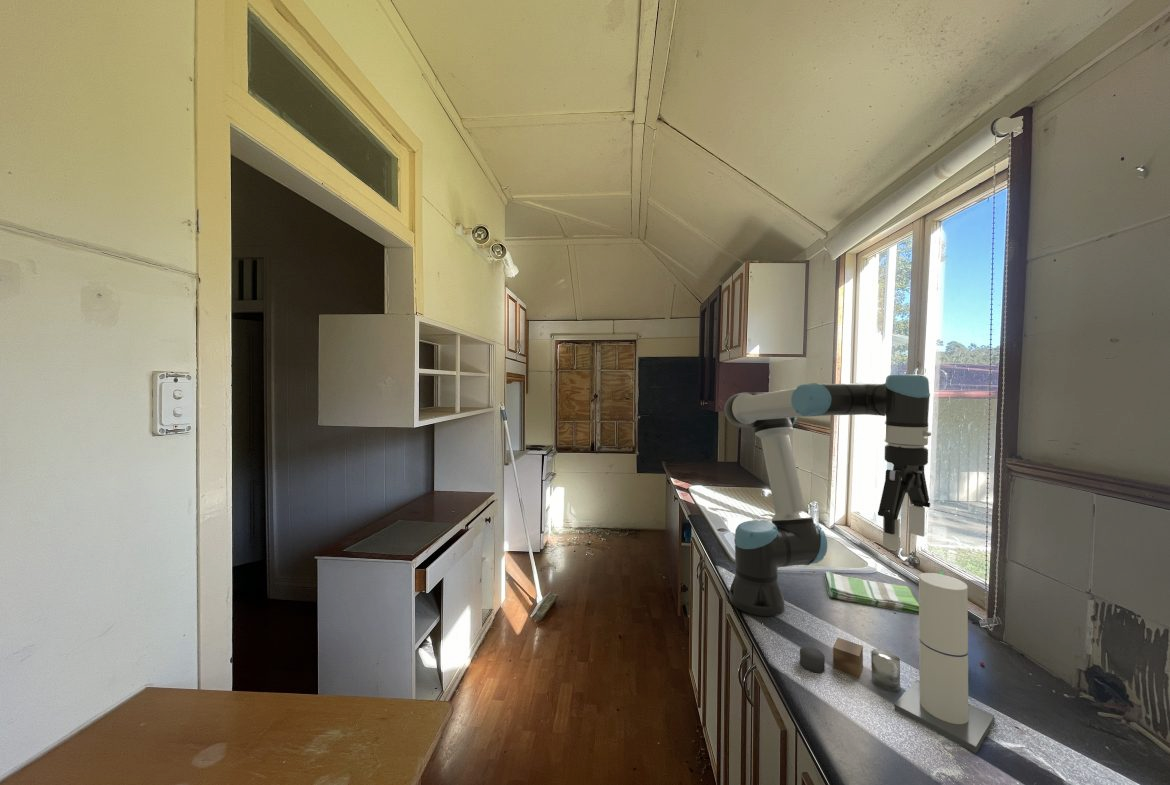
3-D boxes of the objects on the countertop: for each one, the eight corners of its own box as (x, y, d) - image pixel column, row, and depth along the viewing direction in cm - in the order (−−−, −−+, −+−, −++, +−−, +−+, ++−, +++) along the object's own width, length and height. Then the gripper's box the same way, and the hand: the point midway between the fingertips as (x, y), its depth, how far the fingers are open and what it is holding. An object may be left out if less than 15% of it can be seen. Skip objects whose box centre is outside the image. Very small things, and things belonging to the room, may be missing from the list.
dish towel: (823, 577, 141) (823, 566, 141) (907, 590, 131) (907, 579, 131) (828, 600, 126) (828, 588, 126) (924, 617, 116) (924, 604, 116)
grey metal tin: (867, 682, 90) (867, 654, 90) (877, 673, 92) (877, 646, 92) (894, 695, 86) (894, 667, 86) (904, 686, 88) (903, 658, 88)
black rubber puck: (795, 664, 96) (795, 652, 96) (806, 656, 98) (806, 644, 98) (817, 677, 92) (817, 663, 92) (828, 668, 94) (828, 655, 94)
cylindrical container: (919, 711, 80) (918, 582, 80) (919, 690, 85) (918, 569, 85) (970, 730, 75) (969, 593, 75) (966, 707, 81) (966, 579, 81)
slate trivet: (894, 709, 82) (894, 703, 82) (917, 685, 89) (917, 679, 89) (975, 753, 72) (975, 746, 72) (994, 721, 79) (994, 715, 79)
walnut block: (833, 669, 94) (833, 647, 94) (837, 658, 98) (837, 637, 98) (859, 679, 91) (859, 656, 91) (862, 667, 94) (862, 645, 94)
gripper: (902, 453, 80) (901, 561, 81) (948, 442, 94) (946, 534, 95) (860, 448, 87) (858, 548, 87) (908, 438, 100) (906, 524, 101)
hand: (904, 541), depth 91 cm, fingers open, 13 cm apart
